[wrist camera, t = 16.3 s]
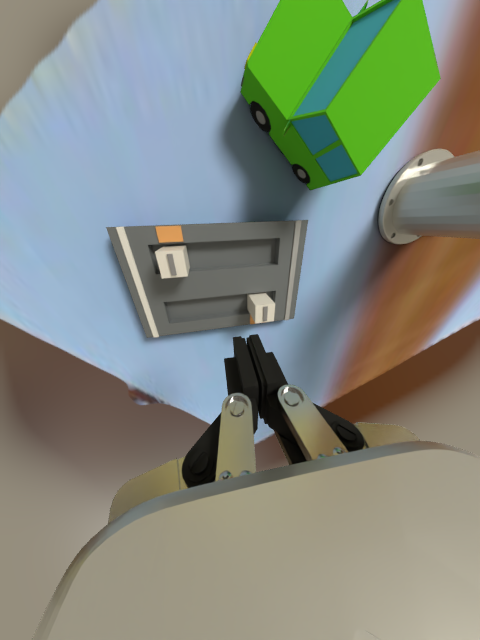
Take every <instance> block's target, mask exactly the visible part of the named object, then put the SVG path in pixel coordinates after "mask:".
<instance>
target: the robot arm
mask: <svg viewBox="0 0 480 640" xmlns="http://www.w3.org/2000/svg"><path fill="white" fill-rule="evenodd" d="M378 222H379V230H380V233H381V235H382V237H383V238H384V239H385V240H386V241H387V242H390V243H392V244H406V243H410V242H412V241H414V240H416V239H418V238H420V237H421V236H439V237H457V238H475V239H480V151H476V152H472V153H469V154H465V155H461V156H457V157H454V156H453V155H452V153H450V152H449V151H448V150H445V149H433V150H430V151H427V152H424V153H422V154H420V155H418V156H416V157H414V158H413V159H412V160H410V161H409V162H408V163H407V164H406V165H405V166H404V167H403V168H402V169H401V170H400V171H399V172H398V174H397V175H396V176H395V177H394V179H393V180H392V182H391V184H390V185H389V187H388V189H387V191H386V193H385V195H384V197H383V200H382V203H381V207H380V211H379V221H378ZM233 345H234V357H233V358H225V359H224V362H225V371H226V380H227V389H228V397H226V398H225V400H224V401H223V404H222V412H221V413H220V415H219V416H218V417H217V418H216V419H215V421H214V422H213V423H212V424H211V425H210V427H209V428H208V429H207V430H206V431H205V433H204V434H203V435H202V436H201V438H200V439H199V440H198V441H197V442H196V444H195V445H194V446H193V447H192V448H191V450H190V451H189V452H188V453H187V455H186V456H185V457H183V458H180V459H178V460H177V458H176V459H174V460H172V461H169V462H167V463H165V464H163V465H161V466H159V467H157V468H154V469H152V470H150V471H148V472H146V473H144V474H142V475H139V476H137V477H135V478H133V479H131V480H129V481H128V482H126V483H125V484H124V485H123V486H122V487H121V488H120V489H119V490H118V492H117V494H116V495H115V497H114V499H113V502H112V505H111V508H110V515H109V521H108V525H106V526H105V527H104V528H103V529H102V530H100V531H99V532H98V533H97V534H96V535H95V536H94V537H93V538H91V539H90V540H89V542H88V543H87V544H86V545H85V546H84V547H83V548H82V549H81V550H80V551H79V553H78V554H77V555H76V557H75V558H74V560H73V561H72V563H71V564H70V565H69V567H68V569H67V570H66V572H65V574H64V576H63V577H62V579H61V581H60V583H59V585H58V586H57V588H56V590H55V592H54V594H53V596H52V598H51V600H50V602H49V604H48V606H47V608H46V610H45V612H44V614H43V616H42V619H41V621H40V623H39V625H38V627H37V629H36V631H35V634H34V636H33V638H32V640H480V457H479V456H477V455H475V454H473V453H471V452H469V451H466V450H463V449H460V448H457V447H454V446H450V445H446V444H442V443H436V442H430V441H420V440H419V439H418V437H417V436H416V435H415V434H414V433H412V432H411V431H410V430H408V429H406V428H404V427H402V426H398V425H390V424H389V425H388V424H375V423H374V424H373V423H358V422H357V423H356V424H352V423H350V422H349V421H347V420H345V419H343V418H341V417H339V416H337V415H335V414H333V413H331V412H329V411H327V410H326V409H324V408H322V407H320V406H318V405H316V404H314V403H312V402H311V400H310V399H309V398H308V396H307V395H306V394H305V392H304V391H303V390H302V389H301V388H299V387H297V386H295V385H289V384H288V383H287V381H286V379H285V377H284V375H283V373H282V371H281V368H280V366H279V364H278V362H277V360H276V358H275V356H274V354H273V353H272V352H269V353H266V352H265V350H264V347H263V345H262V343H261V340H260V338H259V336H258V334H256V335H250V336H249V338H247V344H246V341H245V338H242V337H241V336H240V337H233ZM258 412H259V416H260V419H262V418H263V419H264V422H265V424H268V426H269V427H270V428H272V429H273V430H274V432H275V435H276V437H277V439H278V442H279V444H280V446H281V448H282V450H283V453H284V455H285V457H286V459H287V461H288V463H289V465H288V466H284V467H279V468H275V469H270V470H265V471H261V472H256V463H255V449H254V434H255V432H256V430H257V425H258Z"/></svg>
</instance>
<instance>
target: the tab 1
mask: <svg viewBox="0 0 480 640" xmlns="http://www.w3.org/2000/svg"><path fill="white" fill-rule="evenodd" d="M155 254H156V258H157V262H158V265H159V269H160V273H161V277H162V279H163V278H175V277H187V276H188V273H189V269H190V265H189V259H188V253H187V247H186V245H180V246H163V247H162V248H160V249H159V250H157V251H155Z"/></svg>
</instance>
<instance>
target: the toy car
mask: <svg viewBox="0 0 480 640" xmlns="http://www.w3.org/2000/svg"><path fill="white" fill-rule="evenodd" d="M367 3H368V0H367V2H366V3H365V5H364V6H363V8H362V9H361V10H360V12H359V13H358V14H357V15H356V16H354V17H352V16H351V14H350V13H349V11H348V9H347V8H346V6H345V4H344V3H343V1H342V0H280V2H279V3H278V5H277V7H276V9H275V11H274V13H273V15H272V17H271V18H270V20H269V22H268V24H267V26H266V28H265V30H264V32H263V34H262V35H261V37H260V39H259V41H258V43H255V45H254V47H253V49H252V50H251V52H250V54H249V56H248V58H247V61H246V64H245V68H244V69H245V71H244V75H243V78H242V83H241V86H242V88H241V94H242V95H243V96H244V98H245V99H246V101H247V102H248V104H249V105H250V104H251V108H250V110H251V113H252V116H253V118H254V120H255V122H256V123H257V124H258V126H259V127H260V128H261V129H262V130H264V131H266V132H268V131H270V132H269V135H270V136H271V138H272V139H273V141H274V142H275V143H276V145H277V146H278V147H279V149H280V150H281V151H282V153H283V154H284V155H285V157H286V158H287V159H288V161H289V162H290V164H291V165H293V164H294V165H293V172H294V174H295V175H296V176H297V178H298V179H299V180H300V181H302V182H304V183H307V187H308V188H309V189H310V190H313V189H317V188H320V187H323V186H327V185H330V184H333V183H337V182H340V181H344V180H347V179H350V178H354V177H357V176H360V175H362V173H363V172H364V171H365V170H366V169H367V167H368V166H369V165H370V164H371V162H372V161H373V160H374V159H375V158H376V156H377V155H378V154H379V153H380V152H381V150H382V149H383V148H384V147H385V145H386V144H387V143H388V142H389V141H390V139H391V138H392V137H393V136H394V134H395V133H396V132H397V131H398V130H399V128H400V127H401V126H402V125H403V124H404V122H405V121H406V120H407V119H408V117H409V116H410V115H411V114H412V113H413V111H414V110H415V109H416V108H417V106H418V105H419V104H420V103H421V102H422V100H423V99H424V98H425V97H426V96H427V94H428V93H429V92H430V91H431V89H432V88H433V87H434V86H435V85H436V83H437V82H438V81H439V80H440V79H441V78H440V74H439V70H438V66H437V61H436V57H435V53H434V48H433V44H432V40H431V36H430V31H429V27H428V23H427V18H426V14H425V10H424V6H423V1H422V0H381V1H379V2H378V3H376V4H374V5H372V6H371V7H369V8H367V9H366V6H367ZM251 102H252V103H251Z"/></svg>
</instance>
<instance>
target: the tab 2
mask: <svg viewBox="0 0 480 640" xmlns="http://www.w3.org/2000/svg"><path fill="white" fill-rule="evenodd" d="M247 309H248V311H249V313H250V315H251V317H252V318H253V320H254V322H255V323H263V322H271V321H274V313H275V303H274V302H273V301H272V299H271V298H270V297H269V296H268V295H267V294H266V293H265V292H258V293H248V294H247Z"/></svg>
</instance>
